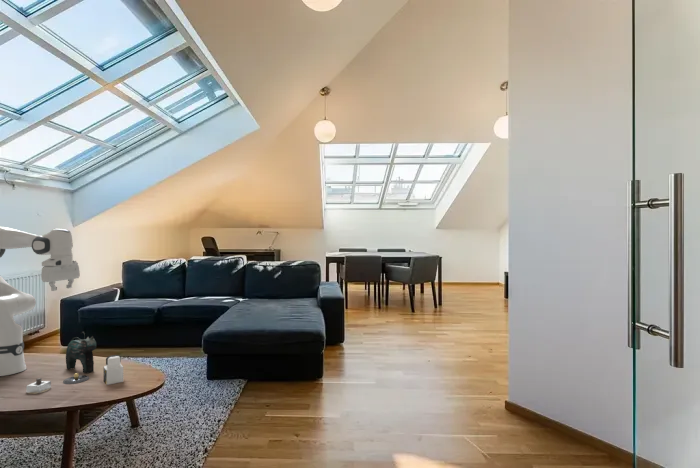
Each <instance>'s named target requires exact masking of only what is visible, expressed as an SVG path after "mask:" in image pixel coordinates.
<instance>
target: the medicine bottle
mask: <svg viewBox="0 0 700 468" xmlns="http://www.w3.org/2000/svg"><path fill="white" fill-rule="evenodd" d="M103 382H104V385H106V386H109V385H114V384H119V383H123V382H124V366H123V364H122V356H121V355H118V354H114V355H113V354H112V355H109V356H107V357H106V358H105V365H104V366H103Z"/></svg>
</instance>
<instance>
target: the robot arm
mask: <svg viewBox="0 0 700 468" xmlns="http://www.w3.org/2000/svg"><path fill="white" fill-rule="evenodd" d="M73 243H74V242H73V235H72V233H71V231H70V230H68V229H65V228H64V229H63V228H53V229H51V230H50V231H49V232H48V233H45V234H43V235H42V234H41V235H40V234H35V233H34V234H33V233H30V232H26V231H22V230H19V229H15V228H11V227H6V226H1V225H0V258H2V257H3V256H4V254H5V252H6V250H14V249H15V250H16V249H24V248H25V249H27V248H31V249H32V251H33V252H34V253H35V254H36V255H41V256H47V255H48V256H50V257H48V258H47V259H45V260H43V261H42V262H41V266H42V268H41V274H40V275H41V278H40V279H41V281H42V282H43V283H48V285H49V286H50V290H51V292H55V291H57V290H58V287H57V286H56V285H55V284H56V282H60V281H65V280H66V281H67V284H66V286H65V289H71V288H73V287H72V286H73V283H74V281H75V279H79V278H80V273H81V271H80V266H79V263H78V262H77V260H73V251H72V249H73ZM35 306H36V297H34V296H33V295H32V294H31V293H28V292H24V291H21V290H19V289H18V288H16V287H14V286H13V285H11V284H10V283H9V282H7V281H6V280H5V279H4V278H3V276H2V275H0V377H4V376H9V375H14V374H17V373H21V372H24V371H26V370H27V365H26V362H25V361H26V360H25V354H24V349H25V343H24V341H23V340H24V338H23V336H24V335H23V333H24V331H23V330H24V329H23V327H22V325H20V324H18V323H16V321H15V319H14V316H20V315H23V314H25V313H28V312H30V311H33V309H34V308H35Z"/></svg>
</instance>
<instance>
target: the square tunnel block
mask: <svg viewBox="0 0 700 468" xmlns="http://www.w3.org/2000/svg"><path fill="white" fill-rule="evenodd" d="M51 387H52V381H51V380H41V384H40V385H36V381H34V382H32V383H30V384H27V385H26V387H25V388H26V393H27V394H28V393H36V394H41V392H42V393H44V392H43V391H45V390H47V389H49V388H50V389H51ZM50 389H49V390H50ZM45 392H46V391H45Z"/></svg>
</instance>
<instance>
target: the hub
mask: <svg viewBox="0 0 700 468" xmlns="http://www.w3.org/2000/svg"><path fill="white" fill-rule="evenodd" d="M79 374H80V373H79V372H75V373H74V374H73V376H70V377H68V378H65V379H63V381H62V383H63V384H65V385H74V384H79V383H83V382H86V381H88V380H89V379H90V377H89V375H86V374H85V375H83V374H81V375H79Z"/></svg>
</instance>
